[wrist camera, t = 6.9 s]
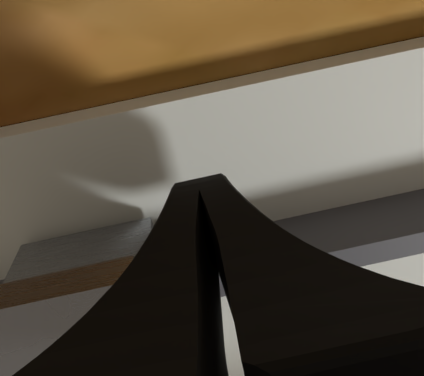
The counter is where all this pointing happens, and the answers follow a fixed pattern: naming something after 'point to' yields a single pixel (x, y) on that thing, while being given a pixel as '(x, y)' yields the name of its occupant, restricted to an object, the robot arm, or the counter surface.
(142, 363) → the robot arm
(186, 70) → the counter surface
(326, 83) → the rail board
